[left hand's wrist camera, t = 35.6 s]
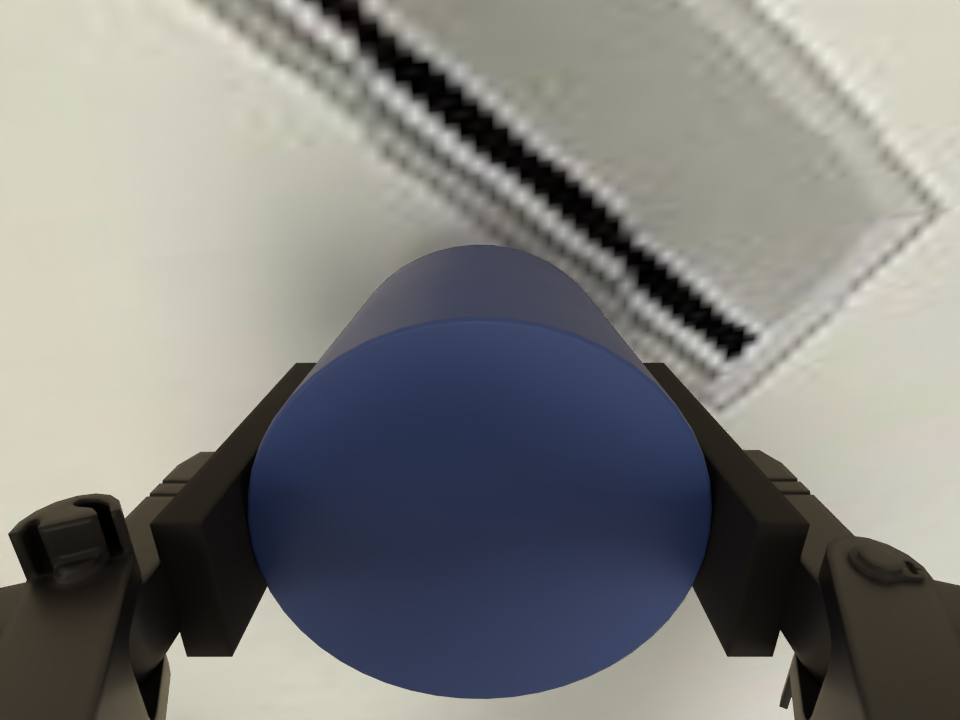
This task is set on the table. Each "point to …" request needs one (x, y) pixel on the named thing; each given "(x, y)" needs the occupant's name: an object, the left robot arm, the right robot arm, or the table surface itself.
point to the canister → (479, 485)
